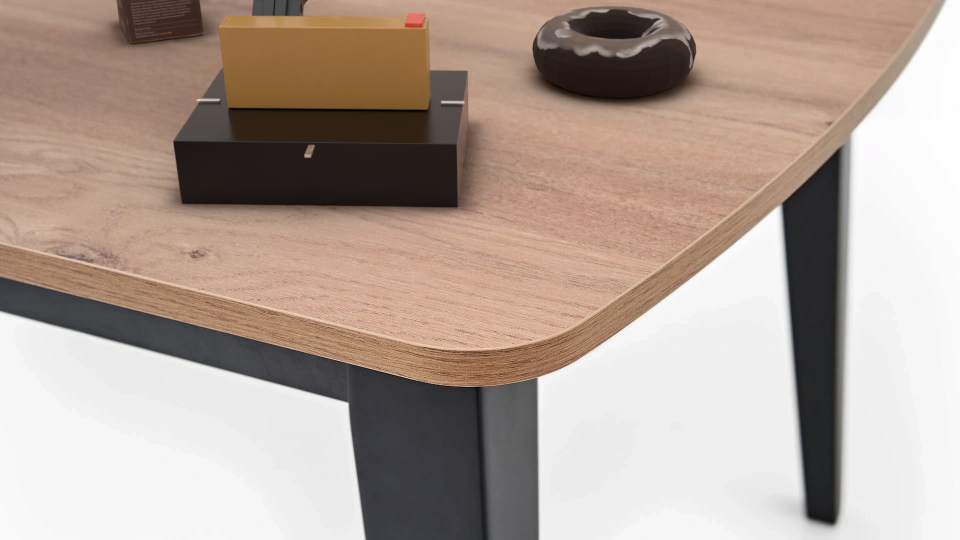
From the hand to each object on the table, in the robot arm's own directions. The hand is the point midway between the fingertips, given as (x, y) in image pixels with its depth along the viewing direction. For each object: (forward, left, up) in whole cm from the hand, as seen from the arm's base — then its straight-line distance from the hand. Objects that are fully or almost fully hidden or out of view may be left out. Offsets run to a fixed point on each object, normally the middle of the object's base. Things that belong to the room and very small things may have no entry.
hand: (274, 53), depth 74 cm
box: (-15, +24, -7) cm, 29 cm away
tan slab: (+3, -2, -2) cm, 5 cm away
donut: (+21, +14, -7) cm, 27 cm away
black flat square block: (+3, -2, -6) cm, 8 cm away
